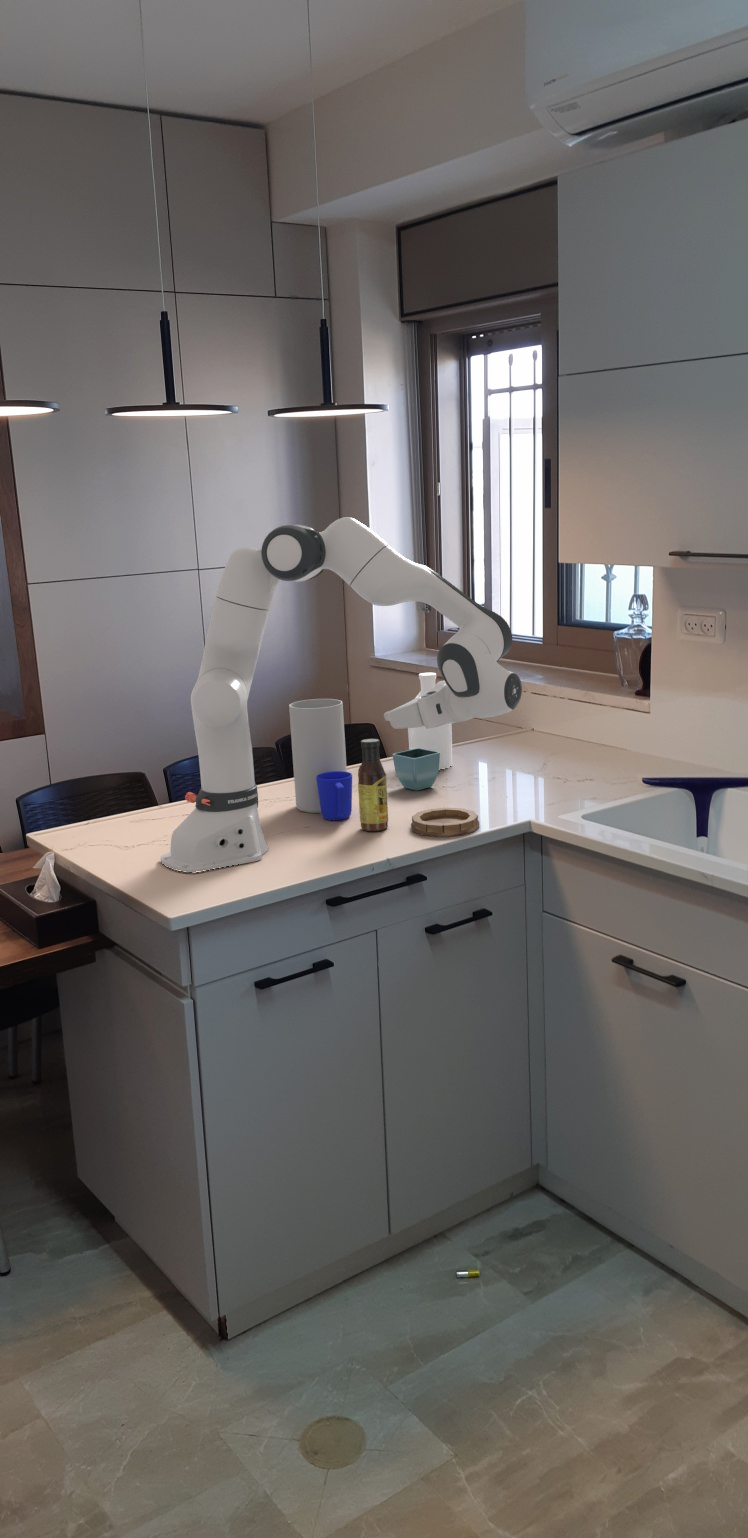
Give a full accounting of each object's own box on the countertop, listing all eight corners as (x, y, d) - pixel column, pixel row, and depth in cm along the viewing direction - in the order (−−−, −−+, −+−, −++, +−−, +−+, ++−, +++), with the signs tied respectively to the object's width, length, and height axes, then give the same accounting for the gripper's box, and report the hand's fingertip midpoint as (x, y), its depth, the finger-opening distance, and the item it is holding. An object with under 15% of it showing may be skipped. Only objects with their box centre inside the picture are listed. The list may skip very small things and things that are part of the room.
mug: (325, 828, 258) (322, 785, 255) (316, 814, 269) (313, 773, 267) (361, 824, 259) (358, 781, 257) (351, 811, 271) (348, 769, 269)
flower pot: (392, 788, 290) (391, 753, 288) (419, 781, 295) (418, 747, 293) (415, 794, 283) (413, 758, 281) (442, 787, 288) (441, 752, 286)
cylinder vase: (359, 804, 276) (353, 701, 271) (322, 816, 267) (315, 710, 262) (322, 797, 285) (315, 697, 279) (285, 809, 276) (277, 705, 270)
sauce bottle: (385, 832, 252) (381, 743, 247) (357, 832, 253) (352, 743, 249) (391, 824, 258) (386, 737, 254) (364, 824, 260) (359, 737, 255)
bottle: (405, 763, 316) (401, 672, 311) (447, 759, 318) (444, 669, 312) (414, 772, 305) (410, 678, 299) (458, 768, 307) (454, 675, 301)
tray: (442, 841, 244) (442, 830, 243) (397, 827, 255) (396, 817, 255) (493, 825, 253) (493, 815, 252) (447, 813, 264) (446, 803, 264)
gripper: (475, 672, 242) (424, 681, 252) (417, 700, 228) (366, 709, 237) (483, 701, 243) (432, 709, 253) (426, 730, 229) (374, 738, 238)
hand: (399, 709), depth 245 cm, fingers open, 8 cm apart
